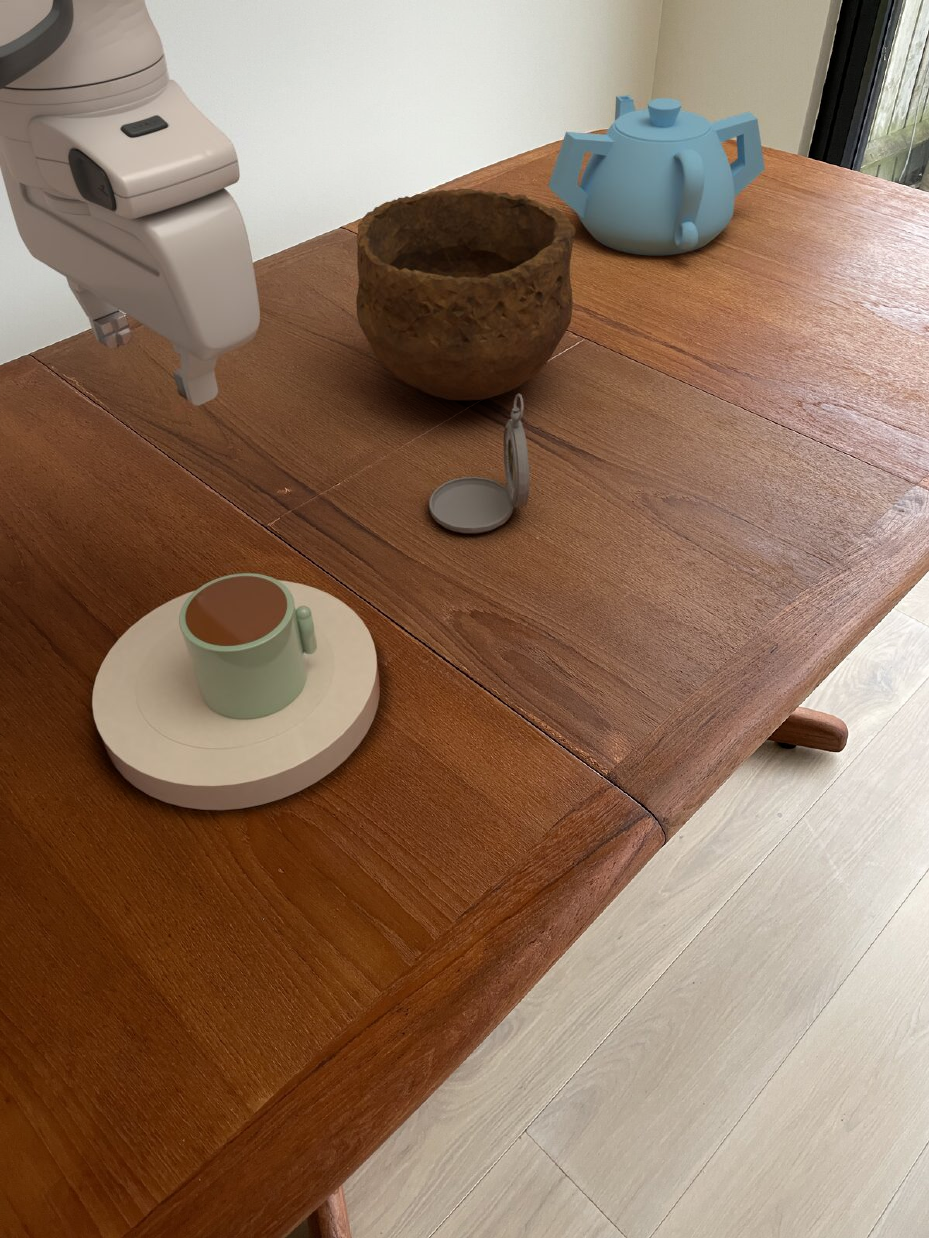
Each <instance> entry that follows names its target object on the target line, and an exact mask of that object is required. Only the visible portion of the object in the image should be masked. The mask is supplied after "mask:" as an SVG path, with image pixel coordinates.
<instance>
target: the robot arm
mask: <svg viewBox="0 0 929 1238" xmlns="http://www.w3.org/2000/svg"><path fill="white" fill-rule="evenodd" d="M165 54H166V53H165V50H164V45H163V42H162V38H161V36H160V34H159V32H158V30H157V28H156V26H155V25H154V22H153V20H152V18H151V15H150V12H149V10H148V7H147V5H146V1H145V0H0V172H1V176H2V179H3V183H4V186H5V190H6V194H7V198H8V201H9V205H10V208H11V212H12V215H13V218H14V222H15V226H16V228H17V231H18V234H19V236H20V238H21V240H22V242H23V244H24V246H25V247H26V249H27V250H28V252H29V253H30V255H31V256H32V257H33V259H36V260H37V261H39V262H40V263H43V264H44V265H45V266H47V267H49V268H50V269H52V270H53V271H55V272H57V273H58V274H60V275H62V276H64V277H65V278H66V281H67V284H68V287H69V289H70V291H71V292H72V295H74V297H75V299H76V301H77V302H78V304H79V305H80V307H81V309H82V311H83V312H84V314H85V315H86V317H87V318H88V321H89V324H90V327H91V330H92V333H93V337H94V339H95V341H97V342H98V343H100V344H102V345H103V346H105V347H107V348H108V349H110V350H115V349H118V348H119V347H121V346H124V345H128V344H129V343H130V342H131V340H132V339H133V338H132V337H133V335H132V331H131V329H130V324H129V321H128V317H127V316H129V317H130V318H131V319H133V320H135V321H136V322H139V323H140V324H141V325H143V326H145V327H147V328H148V329H149V330H151V331H153V332H155V333H156V334H158V335H160V336H161V337H163V338H164V339H166V340H167V341H169V342H171V345H172V347H173V351H174V352H175V353H176V354H177V355H179V356H180V367H179V368H178V369H175V370H173V371H172V374H173V378H174V382H175V384H176V386H177V388H176V390H177V393H178V394H179V396H181V397H182V398H183V399H184V400H186V401H188V402H189V403H191V404H192V405H194V406H198V407H199V406H201V405H203V404H205V403H208V402H210V401H212V400H214V399H215V398H216V397H217V396H218V394H219V387H218V383H217V377H216V374H215V369H216V365H217V362H218V359H219V357H220V356H223V355H225V354H228V353H230V352H232V351H235V350H236V349H239V348H241V347H243V346H245V345H248V344H249V343H251V342H252V341H253V340H254V338H255V336H256V335H257V332H258V330H259V328H260V324H261V309H260V308H261V307H260V301H259V294H258V293H259V292H258V287H257V280H256V274H255V273H256V272H255V269H254V262H253V257H252V251H251V246H250V241H249V236H248V232H247V228H246V224H245V221H244V218H243V214H242V213H241V212H242V211H241V210H240V208H239V206H238V203H237V202H236V200H235V199H234V197H233V196H232V194H231V193H230V192H229V191H228V189H226V188H227V187H230V186H232V185H235V184H236V183H238V182H239V180H240V177H241V175H240V164H239V158H238V154H237V151H236V148H235V145H234V143H233V142H232V140H231V139H230V138H229V137H228V135H226V134H225V133H224V131H222V130H221V129H220V128H219V127H218V126H217V125H215V124H214V123H213V122H212V121H211V120H210V119H209V118H208V117H207V116H206V115H204V114H203V112H201V110H199V108H198V107H197V106H196V105H195V103H193V102H192V101H191V100H190V98H189V97H188V96H187V94H186V93H185V91H184V90H183V89H182V86H180V84H179V83H178V82H177V81H176V80H174V79H171V78H170V74H169V68H168V64H167V59H166V55H165Z"/></svg>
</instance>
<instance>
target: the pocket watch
mask: <svg viewBox="0 0 929 1238" xmlns="http://www.w3.org/2000/svg"><path fill="white" fill-rule="evenodd" d="M518 399H519V401H520V402H519V403H520V408H519V407H518V406H517V402H518ZM524 407H525V406H524V398H523V396H522V393H521V394H520V393H517V394H516V395H515V397H514V400H513V408H512V410H511V412H510V419H508V420H507V423H506V424H505V427H504V431H503V462H504V463H503V464H504V473H505V482H506V486H505V485H503V484H502V483H500V482H498V481H497V480H493V479H491V478H486V477H479V476H467V477H459V478H454V479H451V480H449V481H446V482H444V483H443V484H441V485H440V486H438V487H436V489H434V491H433V492H432V494H431V495H430V497H429V502H428V503H429V505H428V507H429V512H430V514H431V517H432V518H433V519H434V521H435V522H436V523H437V524H439V525H440V526H442V527H444V529H446V530H450V531H452V532H455V533H461V534H481V533H486V532H490V531H493V530H494V529H496V528H499V527H501V526H503V525H504V524H505V523H506V522H507V521H508V520H509V519H510V517H511V516H512V514H513V512H514V508H522V507H524V506H527V505H528V502H529V496H530V485H531V483H530V460H529V451H528V450H529V449H528V443H527V437H526V432H525V430H524V425H523V423H522V421H521V419H522V418H523V416H524V409H525V408H524Z"/></svg>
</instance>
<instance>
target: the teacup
mask: <svg viewBox="0 0 929 1238" xmlns="http://www.w3.org/2000/svg"><path fill="white" fill-rule="evenodd" d="M278 580H279V579H277V578H274V577H272V576H269V575H265V574H261V573H253V572H243V573H241V572H240V573H233V574H228V575H223V576H220V577H218V578H215V579H212V580H211V581H208V582H207V583H204V584H203V585H201V586H199V588H197V589H195V590H196V591H195V590H194V591H195V592H193V593H192V594H191V595H190V596H189V597H188V599H187V600H186V601H185V603H184V605H183V606H182V609H181V611H180V616H179V625H180V629H181V632H182V636H183V639H184V642H185V645H186V649H187V652H188V655H189V659H190V662H191V665H192V668H193V672H194V675H195V678H196V681H197V685H198V688H199V691H200V694H201V697H202V699H203V701H204V702H205V704H206V705H207V706H208V707H209V708H210V709H212V710H213V711H215V712H216V713H218V714H220V715H223V716H226V717H229V718H235V719H255V718H260V717H264V716H268V715H270V714H273V713H275V712H277V711H279V710H281V709H283V708H285V707H286V706H288V705H289V704H290V703H291V702H293V701H294V700H295V699H296V698H297V697H298V695H299V694H300V693H301V691H302V689H303V688H304V685H305V683H306V679H307V666H306V660H305V655H304V653H306V654H313V653H314V652H315V651H316V650H317V641H316V635H315V630H314V624H313V619H312V613H311V610H310V609H309V608H308V607H307V606H300V607H298V608H297V609H295V604H294V599H293V596H292V594H291V592H290V591H289V589H288V588H287V587H286V586H285V585H284V584H282V583H281V582H280V581H278Z"/></svg>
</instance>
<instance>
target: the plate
mask: <svg viewBox="0 0 929 1238" xmlns="http://www.w3.org/2000/svg"><path fill="white" fill-rule="evenodd" d="M277 580H278V581H280V582H281V583H282V584H284V585H285V586H286V587H287V588H288V589H289V591H290V592H291V594H292V596H293V599H294V604H295V609H297V608H298V607H300V606H307V607H308V608H309V609H310V610H311V613H312V619H313V624H314V630H315V635H316V641H317V650H316V651H315V652H314V653H313V654H306V653H304V655H305V660H306V666H307V679H306V683H305V685H304V688H303V689H302V691H301V693H300V694H299V695H298V697H297V698H296V699H295V700H294V701H293V702H291V703H290V704H289V705H288V706H286V707H285V708H283V709H281V710H279V711H277V712H275V713H273V714H270V715H268V716H264V717H260V718H255V719H235V718H229V717H226V716H223V715H220V714H218V713H216V712H215V711H213V710H212V709H210V708H209V707H208V706H207V705H206V704H205V702H204V701H203V699H202V697H201V694H200V691H199V688H198V685H197V681H196V678H195V675H194V672H193V668H192V665H191V662H190V659H189V655H188V652H187V649H186V645H185V642H184V639H183V636H182V632H181V629H180V625H179V616H180V611H181V609H182V606H183V605H184V603H185V601H186V600H187V599H188V597H189V596H190V595H191V594H192V593H193V592H195V591H196V590H197V589H195V590H193V591H189V592H187V593H183V594H182V595H180V596H177V597H175V598H173V599H170V600H169V601H167V602H165V603H163V604H162V605H160V606H157V607H156V608H155V609H153V610H151V611H150V612H148V613H147V614H145V615H144V616H142V617H141V618H140V619H138V621H136V622H135V623H133V625H132V626H130V627H129V628H128V629H127V630H126V631H125V632H124V633H123V634H122V635H121V636H120V637H119V638H118V639H117V641H116V642H115V643H114V645H112V647H111V648H110V649H109V650H108V653H107V654H106V656H105V658H104V659H103V661H102V663H101V664H100V667H99V670H98V672H97V674H96V676H95V681H94V685H93V689H92V700H91V708H92V715H93V720H94V723H95V726H96V730H97V731H98V734H99V737H100V739H101V740H102V743H103V745H104V748H105V751H106V752H107V755H108V757H109V758H110V760H111V763H112V764H113V766H114V768H116V769H117V771H118V772H119V774H121V775H122V777H123V778H124V779H125V780H126V781H128V782H129V783H130V784H131V785H132V786H133V787H135V788H136V789H138V790H139V791H141V792H143V793H144V794H146V795H148V796H149V797H152V798H154V799H156V800H159V801H162V802H164V803H167V804H170V805H174V806H178V807H181V808H187V809H192V810H193V809H194V810H201V811H203V810H204V811H231V810H240V809H247V808H252V807H257V806H262V805H266V804H268V803H272V802H276V801H279V800H283V799H284V798H287V797H290V796H292V795H294V794H297V793H299V792H301V791H303V790H305V789H307V788H309V787H310V786H312V785H314V784H316V783H318V782H319V781H320V780H322V779H323V778H325V777H326V776H328V775H329V774H331V773H332V772H333V771H335V770H336V769H337V768H338V767H340V765H341V764H343V763H344V762H346V760H347V759H348V758H349V757H350V756H351V755H352V754H353V752H354V751H355V750H356V749H357V748H358V747H359V745H360V744H361V742H362V741H363V739H364V738H365V737H366V735H367V734H368V731H369V729H370V728H371V726H372V724H373V723H374V722H373V721H374V719H375V717H376V714H377V709H378V707H379V701H380V696H381V695H380V693H381V687H380V685H381V684H380V683H381V681H380V671H379V664H378V657H377V651H376V647H375V643H374V639H373V638H372V635H371V632H370V631H369V629H368V627H367V626H366V623H364V620H362V619H361V617H360V616H359V615H358V614H357V613H356V612H355V611H354V610H353V608H351V607H350V606H348V605H347V604H346V603H345V602H343V601H342V600H340V599H338V598H337V597H335V596H333V595H332V594H330V593H329V592H325V591H323V590H321V589H319V588H317V587H313V586H309V585H307V584H303V583H298V582H294V581H288V580H281V579H277Z"/></svg>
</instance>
